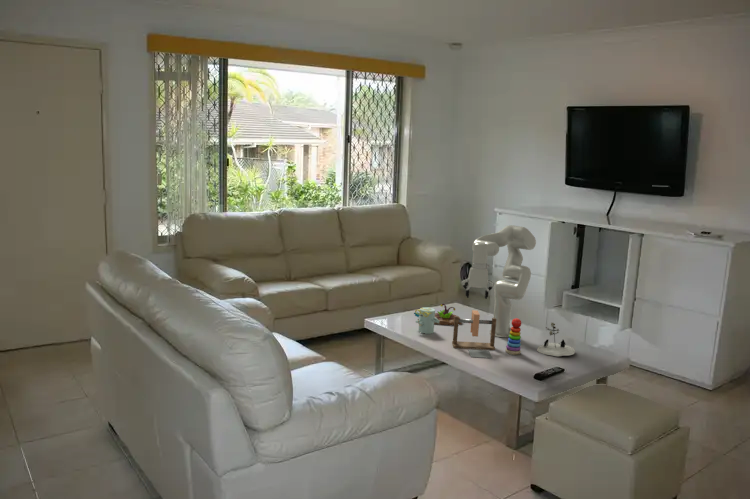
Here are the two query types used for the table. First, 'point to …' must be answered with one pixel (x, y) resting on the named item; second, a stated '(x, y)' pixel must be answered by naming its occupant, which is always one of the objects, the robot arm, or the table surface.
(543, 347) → the figurine
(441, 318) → the plant
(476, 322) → the tall peach block
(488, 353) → the mat
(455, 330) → the rack
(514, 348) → the stacking toy
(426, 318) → the character sculpture
